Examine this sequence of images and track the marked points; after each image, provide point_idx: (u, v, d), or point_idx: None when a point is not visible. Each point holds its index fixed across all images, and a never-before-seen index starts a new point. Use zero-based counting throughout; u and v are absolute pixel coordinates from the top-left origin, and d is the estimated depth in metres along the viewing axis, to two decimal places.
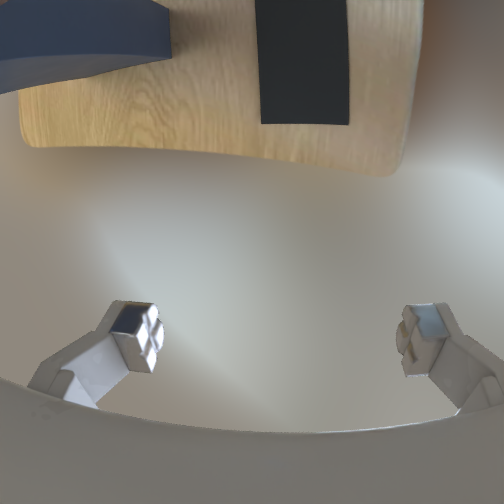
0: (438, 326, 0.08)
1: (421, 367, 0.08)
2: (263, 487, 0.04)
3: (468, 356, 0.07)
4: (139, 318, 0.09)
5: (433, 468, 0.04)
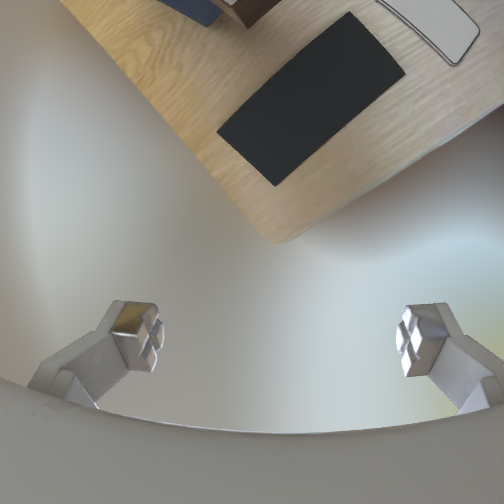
0: (438, 326, 0.08)
1: (421, 367, 0.08)
2: (263, 487, 0.04)
3: (468, 356, 0.07)
4: (139, 318, 0.09)
5: (433, 468, 0.04)
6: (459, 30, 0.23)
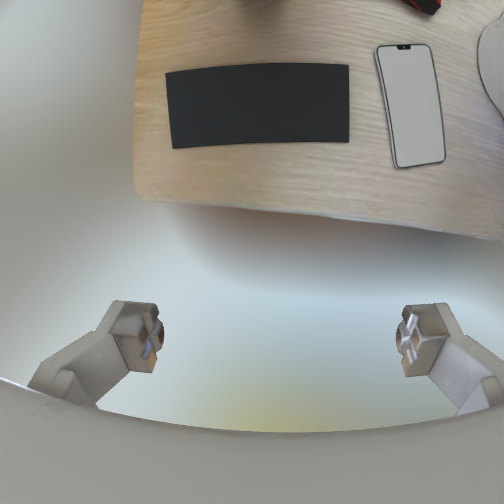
0: (438, 326, 0.08)
1: (421, 367, 0.08)
2: (263, 487, 0.04)
3: (468, 356, 0.07)
4: (139, 318, 0.09)
5: (433, 468, 0.04)
6: (425, 146, 0.33)
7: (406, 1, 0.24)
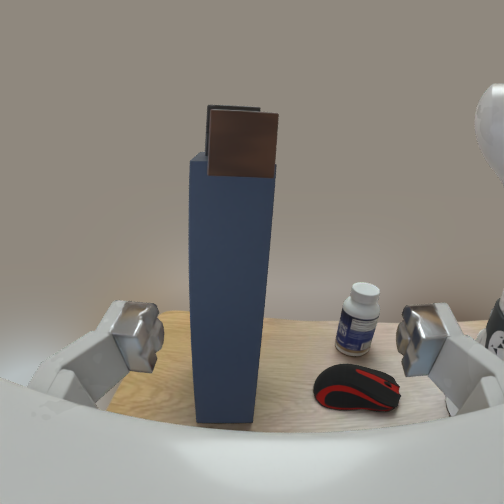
0: (438, 326, 0.08)
1: (421, 367, 0.08)
2: (263, 487, 0.04)
3: (468, 356, 0.07)
4: (139, 318, 0.09)
5: (433, 468, 0.04)
6: None
7: (369, 406, 0.32)
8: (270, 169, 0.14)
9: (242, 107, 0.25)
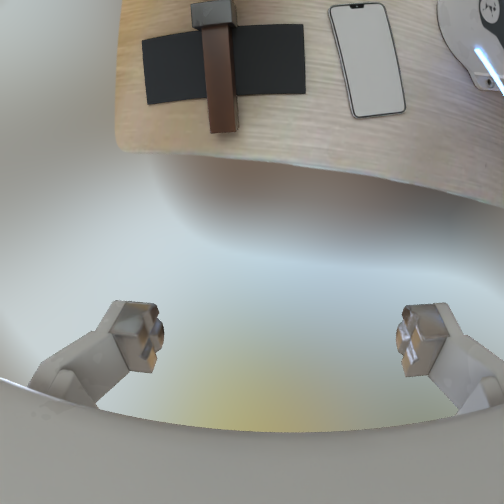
0: (438, 326, 0.08)
1: (421, 367, 0.08)
2: (263, 487, 0.04)
3: (468, 356, 0.07)
4: (139, 318, 0.09)
5: (433, 468, 0.04)
6: (383, 97, 0.34)
7: None
8: (237, 128, 0.38)
9: (218, 24, 0.28)
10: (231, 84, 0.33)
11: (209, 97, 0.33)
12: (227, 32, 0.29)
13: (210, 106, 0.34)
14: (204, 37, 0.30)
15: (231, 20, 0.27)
